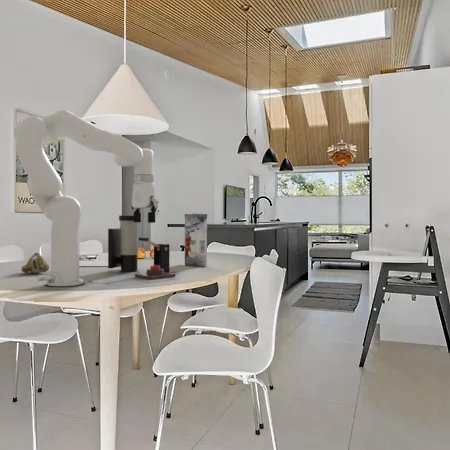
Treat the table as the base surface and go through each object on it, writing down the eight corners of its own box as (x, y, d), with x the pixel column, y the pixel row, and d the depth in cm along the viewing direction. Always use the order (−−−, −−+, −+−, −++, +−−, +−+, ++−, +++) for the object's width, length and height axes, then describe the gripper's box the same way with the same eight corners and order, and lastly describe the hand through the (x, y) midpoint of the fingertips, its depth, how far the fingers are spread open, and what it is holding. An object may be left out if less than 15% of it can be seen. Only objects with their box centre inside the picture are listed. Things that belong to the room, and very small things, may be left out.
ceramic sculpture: (50, 250, 193) (48, 255, 179) (51, 269, 194) (48, 276, 179) (24, 251, 190) (19, 256, 175) (25, 270, 190) (20, 277, 176)
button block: (150, 282, 160) (150, 271, 160) (134, 279, 167) (134, 269, 167) (175, 279, 169) (175, 269, 169) (159, 276, 176) (159, 266, 176)
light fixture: (132, 275, 178) (132, 215, 178) (107, 274, 180) (107, 215, 180) (143, 271, 190) (143, 215, 190) (120, 271, 192) (120, 215, 192)
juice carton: (196, 264, 220) (197, 211, 219) (209, 266, 211) (209, 211, 211) (182, 265, 214) (182, 211, 213) (194, 267, 206) (194, 210, 205)
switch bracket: (157, 276, 175) (157, 245, 175) (146, 274, 181) (146, 244, 180) (176, 274, 182) (177, 244, 182) (165, 272, 188) (165, 243, 187)
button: (154, 271, 165) (154, 266, 165) (148, 270, 168) (148, 265, 168) (161, 270, 168) (161, 265, 168) (156, 269, 170) (156, 264, 170)
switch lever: (144, 241, 172) (147, 235, 173) (137, 240, 175) (139, 235, 176) (166, 252, 180) (168, 247, 181) (159, 252, 183) (161, 246, 184)
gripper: (124, 180, 177) (124, 222, 178) (149, 178, 165) (149, 222, 166) (139, 181, 183) (139, 222, 183) (164, 179, 171) (165, 222, 171)
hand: (144, 222), depth 175 cm, fingers open, 9 cm apart
